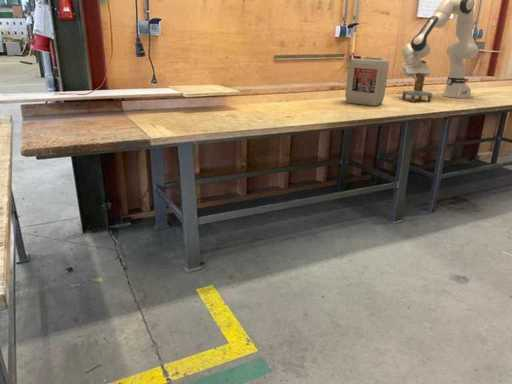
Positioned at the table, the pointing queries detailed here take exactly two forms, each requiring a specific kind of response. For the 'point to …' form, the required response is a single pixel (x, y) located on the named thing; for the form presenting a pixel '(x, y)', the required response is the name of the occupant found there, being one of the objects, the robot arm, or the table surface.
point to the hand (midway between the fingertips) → (420, 80)
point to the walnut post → (419, 82)
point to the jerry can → (366, 80)
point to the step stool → (417, 93)
